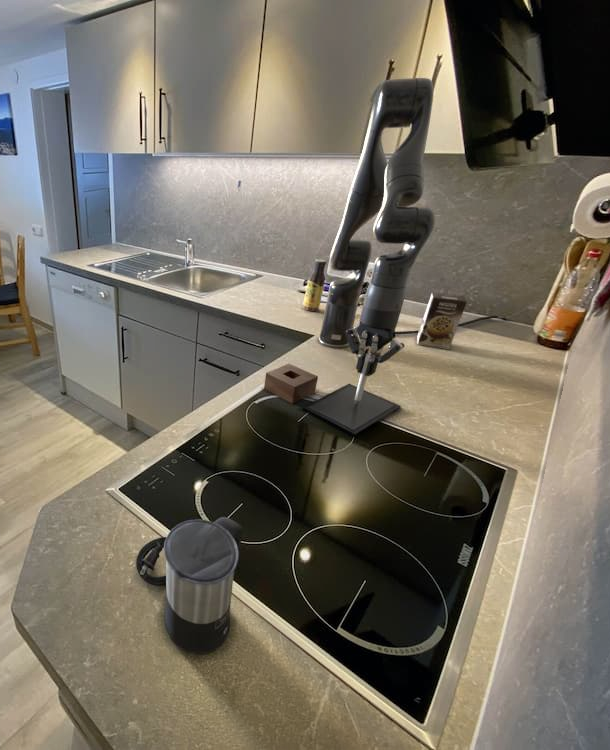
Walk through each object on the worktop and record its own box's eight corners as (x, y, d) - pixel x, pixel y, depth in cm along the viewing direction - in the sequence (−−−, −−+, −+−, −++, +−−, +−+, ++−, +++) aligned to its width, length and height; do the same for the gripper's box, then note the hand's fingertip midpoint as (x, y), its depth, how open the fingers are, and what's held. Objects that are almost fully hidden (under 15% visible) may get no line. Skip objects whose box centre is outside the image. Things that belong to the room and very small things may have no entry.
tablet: (348, 386, 114) (349, 383, 113) (400, 408, 103) (401, 405, 103) (302, 409, 104) (302, 406, 103) (354, 437, 93) (355, 433, 93)
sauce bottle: (299, 307, 170) (307, 258, 161) (311, 305, 172) (320, 257, 163) (310, 312, 165) (319, 262, 155) (322, 310, 167) (332, 261, 157)
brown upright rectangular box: (417, 344, 137) (432, 297, 129) (416, 337, 142) (431, 291, 134) (449, 349, 133) (467, 301, 125) (448, 342, 138) (464, 295, 130)
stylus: (355, 401, 104) (368, 352, 98) (360, 404, 103) (373, 354, 97) (352, 403, 104) (364, 354, 97) (357, 405, 103) (370, 356, 96)
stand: (286, 379, 118) (288, 363, 115) (314, 392, 111) (318, 376, 108) (263, 388, 113) (265, 372, 111) (292, 403, 106) (295, 386, 104)
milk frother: (221, 668, 52) (231, 594, 45) (109, 623, 57) (102, 550, 50) (242, 573, 64) (252, 503, 57) (147, 543, 69) (145, 475, 62)
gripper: (423, 308, 88) (401, 380, 96) (362, 293, 98) (347, 359, 106) (405, 316, 85) (384, 389, 93) (344, 299, 94) (329, 367, 103)
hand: (364, 373), depth 100 cm, fingers closed on stylus, 1 cm apart
